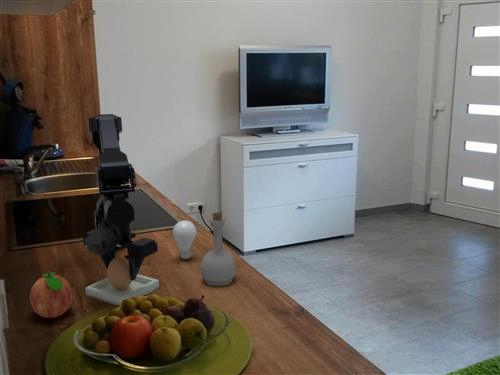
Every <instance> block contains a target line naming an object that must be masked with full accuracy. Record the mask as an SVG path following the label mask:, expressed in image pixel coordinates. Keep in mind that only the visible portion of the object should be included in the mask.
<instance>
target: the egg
mask: <svg viewBox="0 0 500 375" xmlns="http://www.w3.org/2000/svg"><path fill="white" fill-rule="evenodd" d="M106 278H108V281H109V283H110V284H111V286H113V287H114V288H116V289H120V290H122V289H125V288H127V287H128V286H129V285H130V284H131V282H132V280H131V277H130V271H129V262H128V260H127V259H125V258H124V257H122V256H115V258H114V259H113V260H112V261H111V262H110V264H109V266H108V269H106Z"/></svg>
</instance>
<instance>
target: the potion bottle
mask: <svg viewBox="0 0 500 375" xmlns="http://www.w3.org/2000/svg"><path fill="white" fill-rule="evenodd" d="M209 224H210V226H211V228H212V230H213V232H212V234H213V235H212V236H213V250H211V251H207V253H205V255H204V257H203V259H202V260H201V264H200V267H199V271H200V272H201V277H202V278H204V282H205V283H206V284H207V285H209V286H212V287H213V286H214V287H222V286H227V285H229V284H231V283H232V282H233V278H235V274H236V273H237V268H236V264H235V260H234V257H233V254H232V253H231V252H230V251H228V250H224V249H223V228H224V226H225V224H226V219H225V217H223V211H221V212H220V211H219V212H213V213H211V218H210V219H209Z"/></svg>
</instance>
